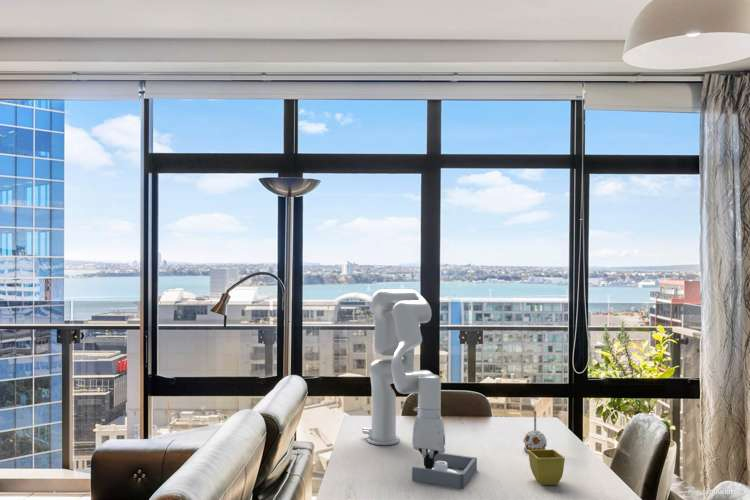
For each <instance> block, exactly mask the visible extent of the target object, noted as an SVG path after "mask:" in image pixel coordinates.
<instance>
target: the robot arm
mask: <svg viewBox="0 0 750 500" xmlns="http://www.w3.org/2000/svg"><path fill="white" fill-rule="evenodd" d="M371 308H372V309H371V310H372V312H373V316H374V339H373V340H374V345H373V346H374V352H375V353H376V354H377V355H378V356H381V357H382V356H383V357H388V356H389V357H390V356H392V358H379V359H376V360H374V361H372V362H371V363H370V365H369V376H370V377H369V378H370V385H371V427H362V430H361V432H362V434H365V435H368V436H367V439H366V440H367V441H368V443H369V444H372V445H376V446H393V445H396V444H398V443H400V440H401V439H400V437H399V435H397V434H396V433H397V432H396V431H397V427H396V426H397V425H396V424H397V395H396V392H395V390H396V391H397V393H399V394H402V395H407V394H408V395H409V394H417V406H416V407H414V408H413V412H416V413H417V415H415V417H414V420H413V421H414V422H413V428H412V439H411V440H412V441H411V442H412V448H413V449H414V450H415V451H419V453H420V454H421V456H422V457H423V467H424V468H426V469H432V468H434V456H435V455H436V454H439V453H445V452H446V447H445V445H446V434H445V433H446V432H445V424H444V419H443V416H442V413H441V412H442V411H441V410H442V409H441V405H442V403H441V401H442V400H441V398H442V397H441V396H442V395H441V394H442V392H441V391H442V390H441V389H442V382H441V381H442V380H441V377H440V376H439V375H438V374H434V373H433V372H431V371H430V370H428V369H420V370H419V369H417V370H414V365H415V348H417V347H418V346H420V345H421V344H422V342H423V336H422V333H421V328H420V325H419V324H426V323H429V322H430V321H431V319H432V314H433V313H432V308H431V306H430V304H429V302H428V301H427V300H426V299H425V298H424V297H423V296H422V295H421V294H420V293H419V292H418V291H417V290H415V289H411V288H410V289H407V288H405V289H404V288H402V289H401V288H400V289H399V288H396V289H395V288H390V289H389V288H386V289H385V288H384V289H379V290H377V291H375V292H374V294H373V295H372V299H371ZM392 384H394V388H395V390H394V389H393V387H392V386H391V385H392ZM429 451H430V455H429V453H428V452H429Z"/></svg>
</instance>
